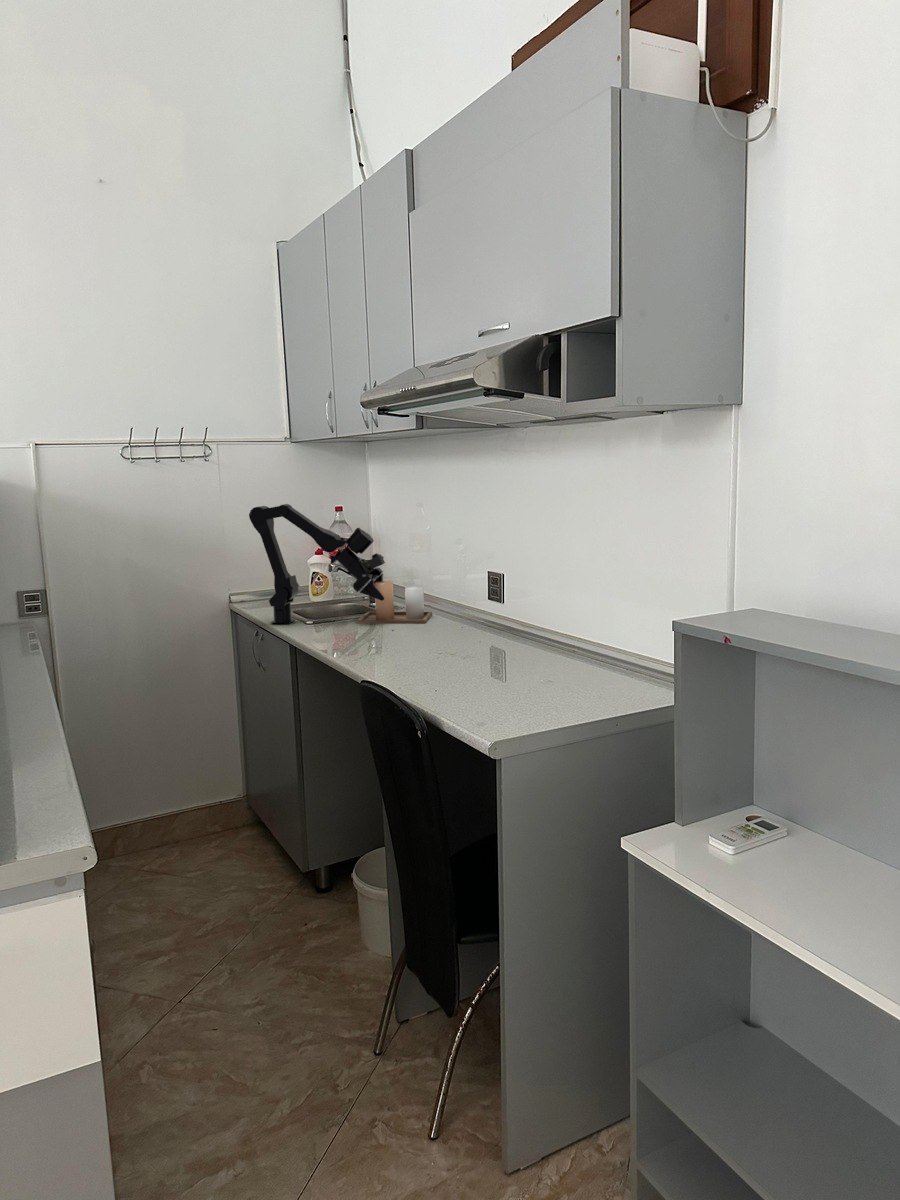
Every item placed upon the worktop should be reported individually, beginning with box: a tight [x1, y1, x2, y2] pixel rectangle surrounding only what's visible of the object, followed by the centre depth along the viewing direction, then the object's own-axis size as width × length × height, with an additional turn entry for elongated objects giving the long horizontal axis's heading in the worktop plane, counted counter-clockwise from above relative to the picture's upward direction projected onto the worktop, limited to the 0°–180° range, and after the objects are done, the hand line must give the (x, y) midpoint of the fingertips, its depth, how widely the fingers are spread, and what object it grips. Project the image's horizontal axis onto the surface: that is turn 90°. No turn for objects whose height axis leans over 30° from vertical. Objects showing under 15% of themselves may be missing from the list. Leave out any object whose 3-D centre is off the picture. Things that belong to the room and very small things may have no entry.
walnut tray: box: [356, 611, 433, 625], centre depth 287 cm, size 16×22×2 cm
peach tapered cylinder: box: [374, 580, 395, 620], centre depth 284 cm, size 6×6×12 cm
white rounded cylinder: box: [404, 585, 425, 619], centre depth 288 cm, size 6×6×10 cm
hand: (386, 597), depth 284 cm, fingers open, 9 cm apart
